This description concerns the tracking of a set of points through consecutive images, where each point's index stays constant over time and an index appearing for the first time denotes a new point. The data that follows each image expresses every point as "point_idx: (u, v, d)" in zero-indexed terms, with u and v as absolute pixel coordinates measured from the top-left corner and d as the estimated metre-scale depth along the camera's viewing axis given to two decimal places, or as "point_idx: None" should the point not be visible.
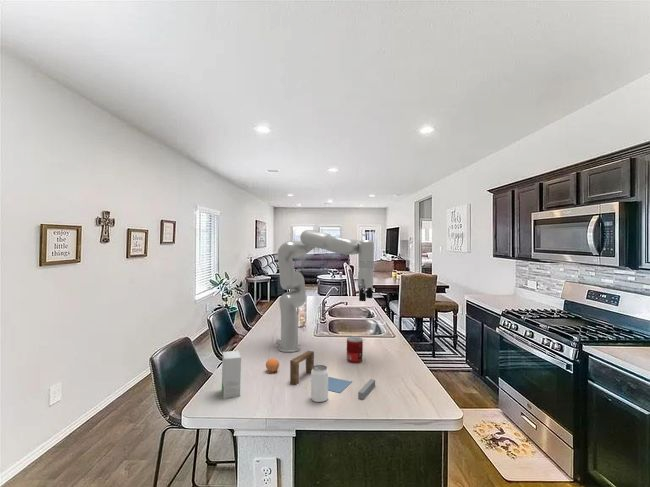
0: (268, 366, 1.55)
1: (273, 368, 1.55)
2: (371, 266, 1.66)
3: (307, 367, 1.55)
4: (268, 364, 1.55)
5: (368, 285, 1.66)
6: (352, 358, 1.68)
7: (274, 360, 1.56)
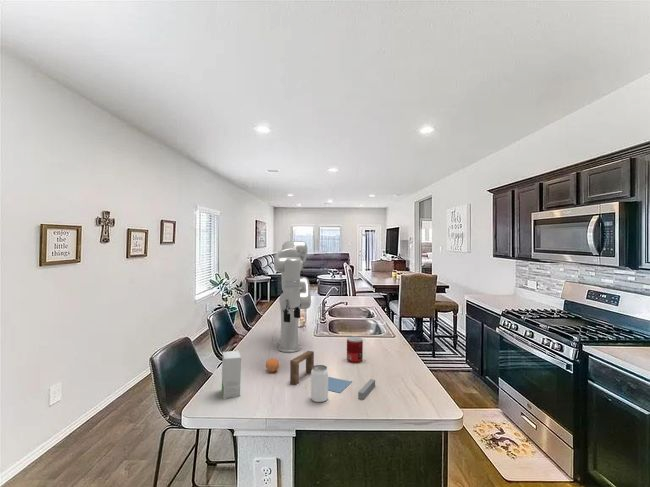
0: (268, 366, 1.55)
1: (273, 368, 1.55)
2: (296, 285, 1.61)
3: (307, 367, 1.55)
4: (268, 364, 1.55)
5: (293, 305, 1.61)
6: (352, 358, 1.68)
7: (274, 360, 1.56)
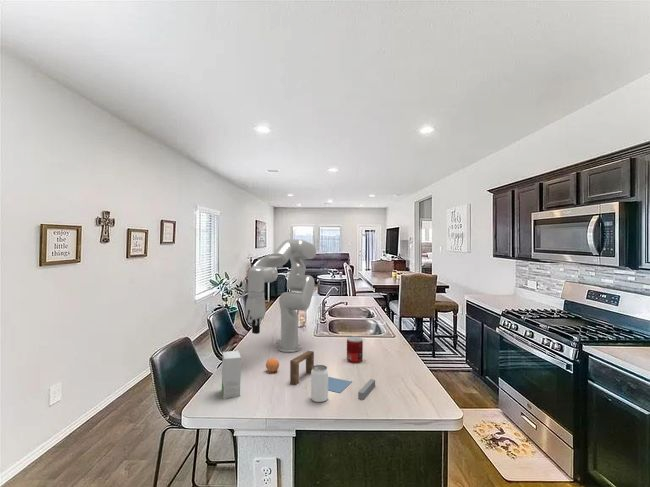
0: (268, 366, 1.55)
1: (273, 368, 1.55)
2: (259, 296, 1.58)
3: (307, 367, 1.55)
4: (268, 364, 1.55)
5: (256, 315, 1.58)
6: (352, 358, 1.68)
7: (274, 360, 1.56)
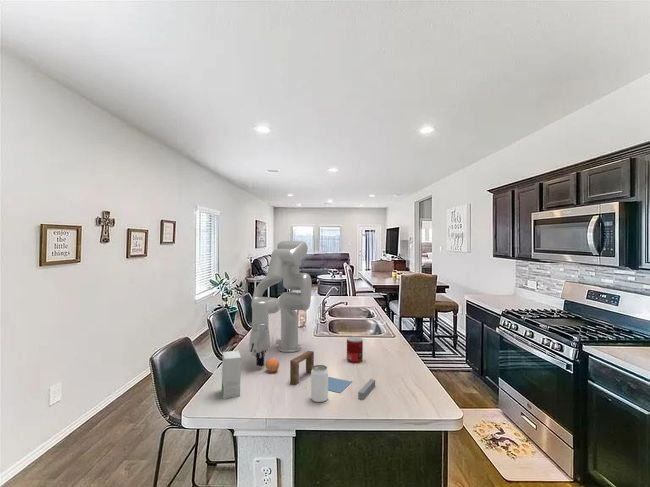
0: (268, 366, 1.55)
1: (273, 368, 1.55)
2: (263, 329, 1.57)
3: (307, 367, 1.55)
4: (268, 364, 1.55)
5: (260, 348, 1.57)
6: (352, 358, 1.68)
7: (274, 360, 1.56)
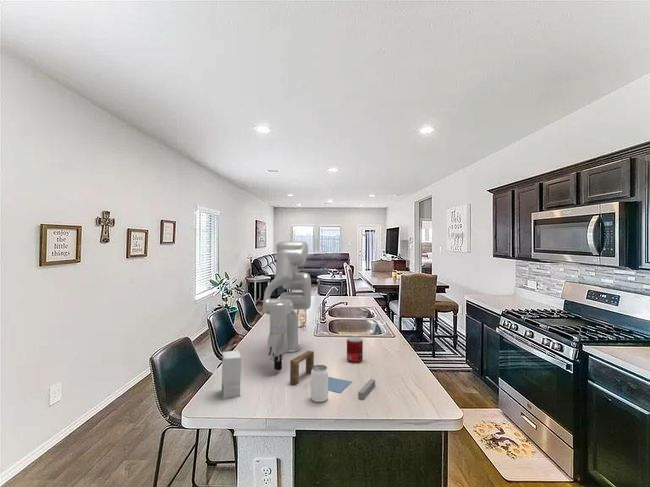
0: None
1: None
2: (282, 332, 1.53)
3: (307, 367, 1.55)
4: None
5: (279, 352, 1.53)
6: (352, 358, 1.68)
7: None
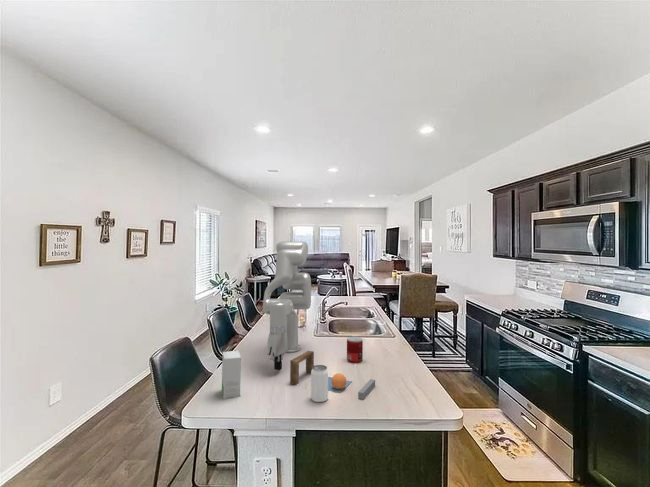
0: (335, 383, 1.37)
1: (339, 378, 1.37)
2: (282, 332, 1.53)
3: (307, 367, 1.55)
4: (333, 382, 1.37)
5: (279, 352, 1.53)
6: (352, 358, 1.68)
7: (334, 375, 1.40)
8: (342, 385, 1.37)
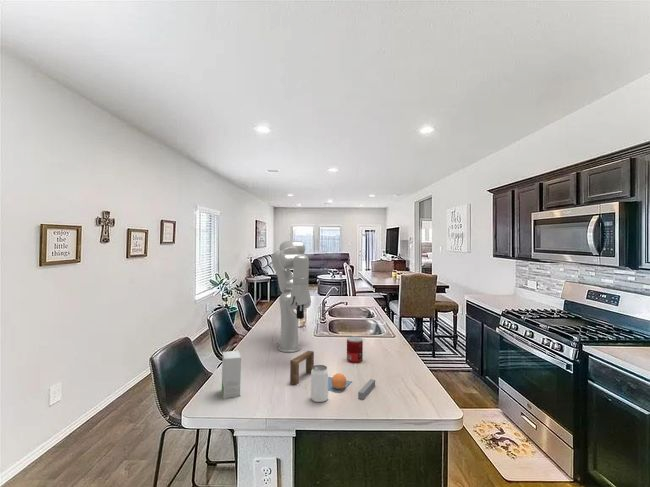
0: (335, 383, 1.37)
1: (339, 378, 1.37)
2: (304, 283, 1.63)
3: (307, 367, 1.55)
4: (333, 382, 1.37)
5: (301, 302, 1.63)
6: (352, 358, 1.68)
7: (334, 375, 1.40)
8: (342, 385, 1.37)
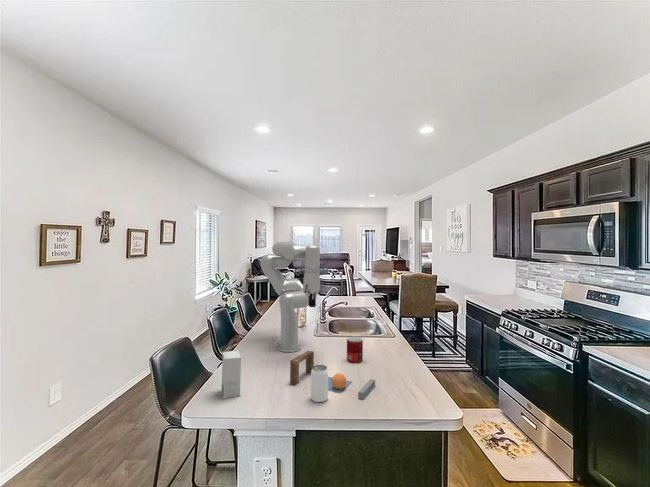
0: (335, 383, 1.37)
1: (339, 378, 1.37)
2: (316, 271, 1.69)
3: (307, 367, 1.55)
4: (333, 382, 1.37)
5: (313, 290, 1.69)
6: (352, 358, 1.68)
7: (334, 375, 1.40)
8: (342, 385, 1.37)
